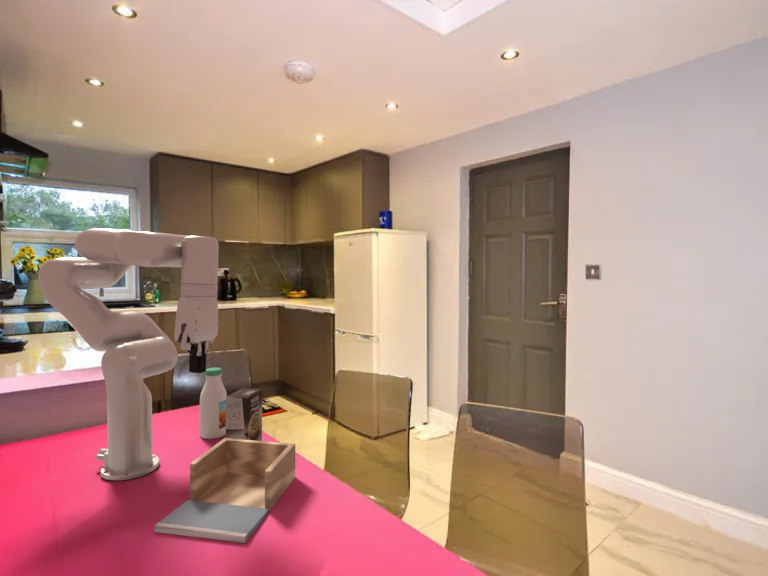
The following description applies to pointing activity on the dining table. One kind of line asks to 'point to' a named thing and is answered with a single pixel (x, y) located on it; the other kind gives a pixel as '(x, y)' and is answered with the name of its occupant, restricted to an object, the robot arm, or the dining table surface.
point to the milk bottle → (213, 405)
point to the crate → (243, 473)
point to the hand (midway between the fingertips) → (197, 371)
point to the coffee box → (244, 414)
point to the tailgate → (212, 521)
